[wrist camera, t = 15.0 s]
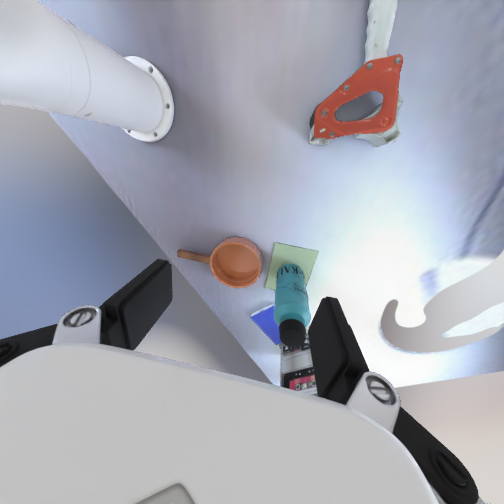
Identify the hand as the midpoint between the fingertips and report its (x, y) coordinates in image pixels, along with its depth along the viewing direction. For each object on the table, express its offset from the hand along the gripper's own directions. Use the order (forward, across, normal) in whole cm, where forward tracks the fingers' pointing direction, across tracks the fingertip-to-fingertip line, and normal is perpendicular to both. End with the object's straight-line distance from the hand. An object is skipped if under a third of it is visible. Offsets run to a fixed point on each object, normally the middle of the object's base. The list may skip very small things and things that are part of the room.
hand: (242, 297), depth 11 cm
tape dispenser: (+32, -11, -20) cm, 39 cm away
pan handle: (+29, +15, +16) cm, 37 cm away
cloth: (+31, -8, +16) cm, 36 cm away
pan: (+31, +4, +16) cm, 35 cm away
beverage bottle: (+31, -8, +16) cm, 36 cm away
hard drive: (+31, -9, +34) cm, 47 cm away
